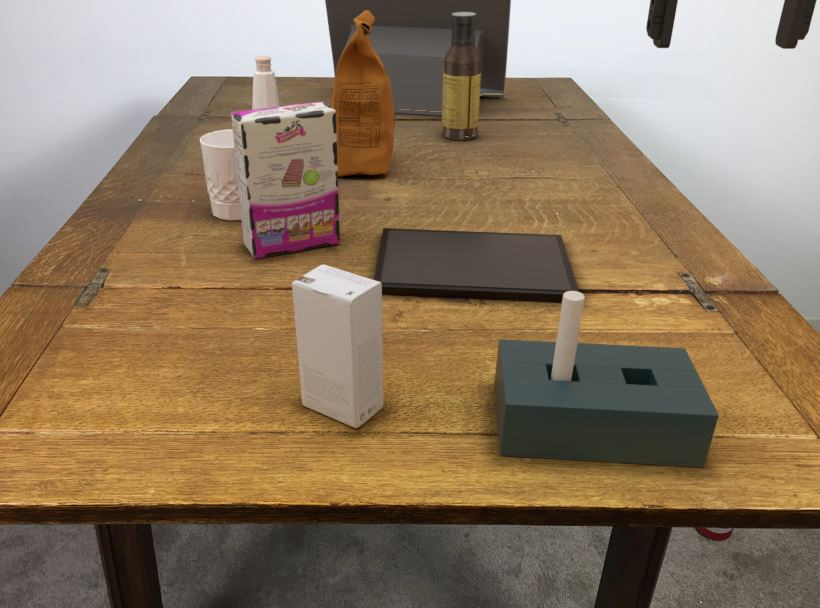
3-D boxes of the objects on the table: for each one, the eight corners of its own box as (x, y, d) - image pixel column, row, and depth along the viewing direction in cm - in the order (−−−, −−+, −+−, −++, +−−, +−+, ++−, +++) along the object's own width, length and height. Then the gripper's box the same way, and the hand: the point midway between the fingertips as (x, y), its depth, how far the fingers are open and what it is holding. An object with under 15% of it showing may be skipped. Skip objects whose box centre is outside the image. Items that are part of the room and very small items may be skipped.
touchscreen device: (504, 94, 161) (519, -70, 145) (495, 123, 145) (510, -58, 129) (339, 84, 168) (336, -74, 151) (313, 110, 151) (306, -63, 135)
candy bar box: (326, 230, 100) (322, 99, 92) (341, 245, 96) (339, 109, 88) (240, 244, 96) (229, 109, 88) (252, 260, 92) (241, 120, 84)
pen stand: (493, 387, 70) (498, 338, 67) (673, 396, 69) (685, 347, 66) (500, 456, 62) (505, 404, 59) (704, 467, 60) (719, 415, 58)
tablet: (383, 235, 99) (383, 227, 98) (560, 242, 97) (561, 234, 96) (372, 294, 85) (372, 285, 84) (578, 303, 83) (580, 294, 83)
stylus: (562, 418, 66) (583, 290, 60) (565, 429, 64) (586, 300, 58) (543, 417, 66) (561, 290, 60) (545, 428, 65) (564, 299, 58)
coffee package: (397, 155, 126) (401, 9, 115) (391, 182, 115) (394, 22, 104) (336, 153, 127) (334, 7, 116) (324, 179, 116) (320, 21, 105)
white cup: (196, 210, 105) (187, 137, 100) (244, 196, 110) (238, 125, 105) (229, 227, 100) (222, 151, 95) (278, 212, 105) (274, 138, 100)
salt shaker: (253, 124, 141) (249, 60, 136) (250, 116, 146) (245, 54, 140) (283, 122, 142) (280, 59, 137) (279, 114, 147) (276, 53, 141)
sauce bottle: (468, 129, 139) (476, 9, 129) (483, 139, 134) (493, 15, 124) (434, 132, 137) (440, 10, 127) (448, 143, 132) (455, 16, 122)
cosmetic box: (385, 406, 67) (388, 279, 61) (354, 433, 64) (354, 302, 58) (328, 383, 70) (325, 260, 64) (296, 407, 67) (289, 280, 61)
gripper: (675, -240, 45) (630, 58, 53) (939, -247, 43) (850, 58, 52) (646, -227, 51) (610, 36, 59) (876, -233, 50) (806, 36, 58)
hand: (722, 46), depth 56 cm, fingers open, 8 cm apart
